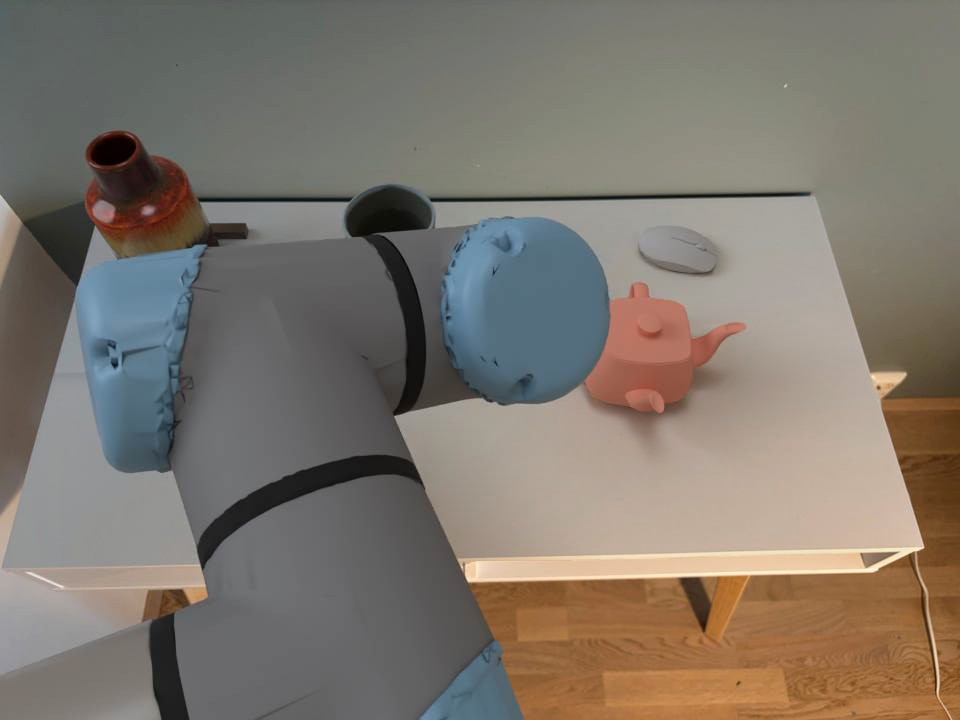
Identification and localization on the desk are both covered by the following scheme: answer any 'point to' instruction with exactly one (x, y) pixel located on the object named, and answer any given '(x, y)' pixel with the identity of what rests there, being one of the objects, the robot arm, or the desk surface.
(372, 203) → the grey-blue ceramic planter
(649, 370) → the teapot
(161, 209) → the vase
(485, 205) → the desk surface
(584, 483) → the desk surface
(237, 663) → the robot arm
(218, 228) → the strip
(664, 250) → the computer mouse
